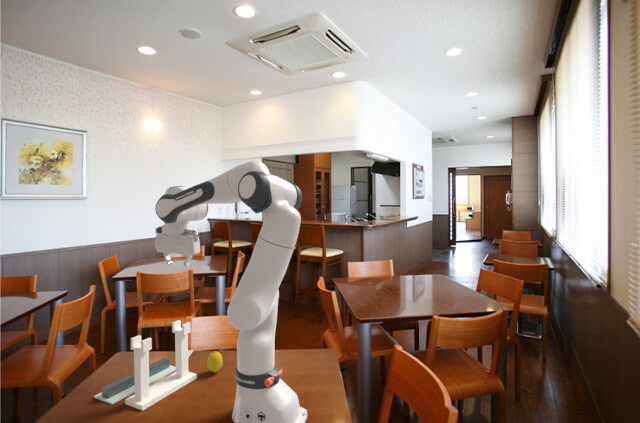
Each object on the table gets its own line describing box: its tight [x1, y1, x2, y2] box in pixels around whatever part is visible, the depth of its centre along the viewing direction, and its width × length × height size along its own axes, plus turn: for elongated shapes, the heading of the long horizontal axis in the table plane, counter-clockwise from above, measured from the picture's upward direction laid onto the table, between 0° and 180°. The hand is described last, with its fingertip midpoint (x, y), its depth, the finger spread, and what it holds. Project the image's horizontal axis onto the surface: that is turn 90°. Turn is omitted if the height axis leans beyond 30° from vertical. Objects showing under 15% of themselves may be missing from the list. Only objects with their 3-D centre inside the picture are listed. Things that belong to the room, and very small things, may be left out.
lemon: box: [206, 350, 224, 373], centre depth 132 cm, size 6×6×8 cm
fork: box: [188, 349, 194, 359], centre depth 142 cm, size 3×21×3 cm, turn 10°
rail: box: [101, 357, 170, 399], centre depth 125 cm, size 3×24×3 cm, turn 154°
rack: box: [124, 319, 198, 411], centre depth 119 cm, size 8×22×20 cm, turn 154°
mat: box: [93, 364, 176, 405], centre depth 125 cm, size 9×26×1 cm, turn 154°
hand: (177, 265), depth 136 cm, fingers open, 8 cm apart
